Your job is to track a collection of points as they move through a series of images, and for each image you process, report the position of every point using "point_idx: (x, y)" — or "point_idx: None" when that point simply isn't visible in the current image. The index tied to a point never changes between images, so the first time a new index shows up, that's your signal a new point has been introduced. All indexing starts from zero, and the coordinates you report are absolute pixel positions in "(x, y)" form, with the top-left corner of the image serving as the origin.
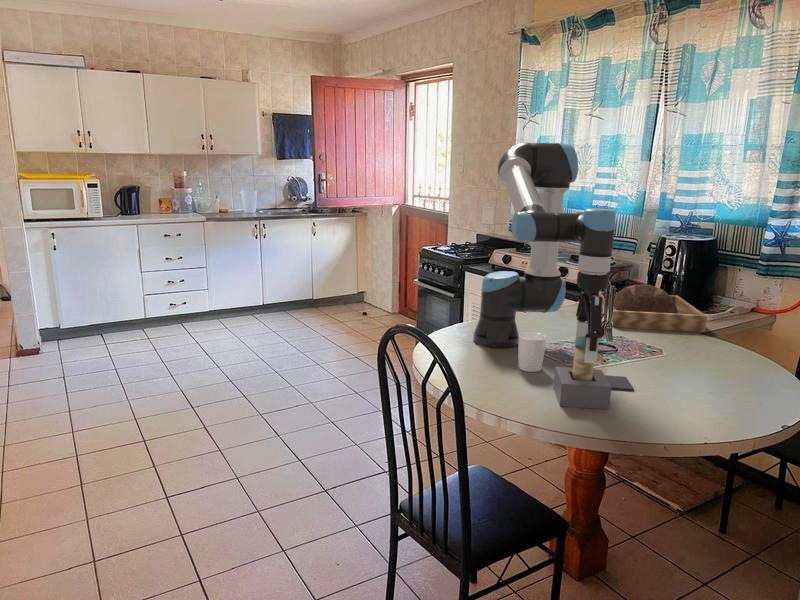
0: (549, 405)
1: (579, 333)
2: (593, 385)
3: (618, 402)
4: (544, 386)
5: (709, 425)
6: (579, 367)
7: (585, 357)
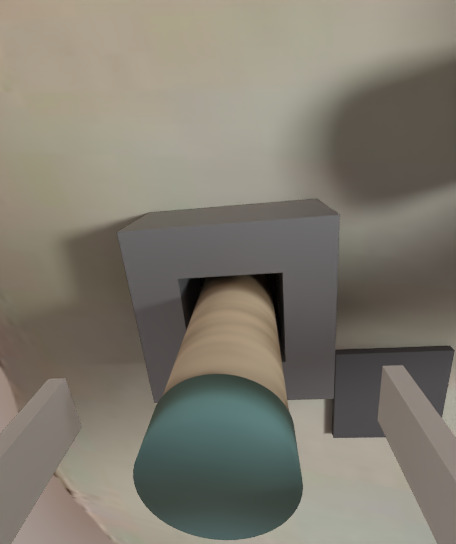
0: (141, 176)
1: (426, 461)
2: (145, 349)
3: None
4: (323, 162)
5: None
6: (186, 331)
7: (28, 402)
